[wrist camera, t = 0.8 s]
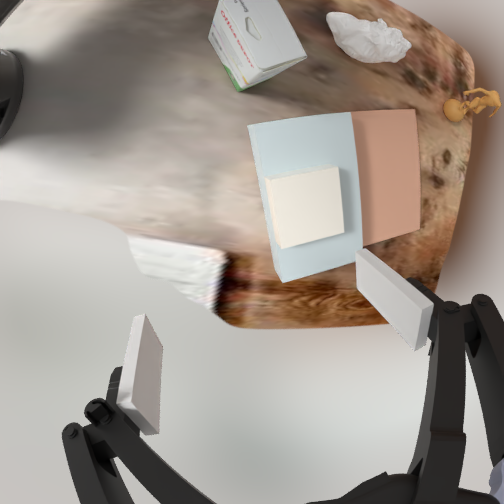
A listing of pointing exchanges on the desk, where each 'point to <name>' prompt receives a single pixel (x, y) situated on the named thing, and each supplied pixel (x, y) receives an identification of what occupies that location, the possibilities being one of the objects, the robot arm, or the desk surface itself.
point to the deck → (304, 156)
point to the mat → (387, 172)
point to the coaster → (305, 204)
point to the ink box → (254, 40)
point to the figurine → (471, 104)
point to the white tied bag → (367, 38)
